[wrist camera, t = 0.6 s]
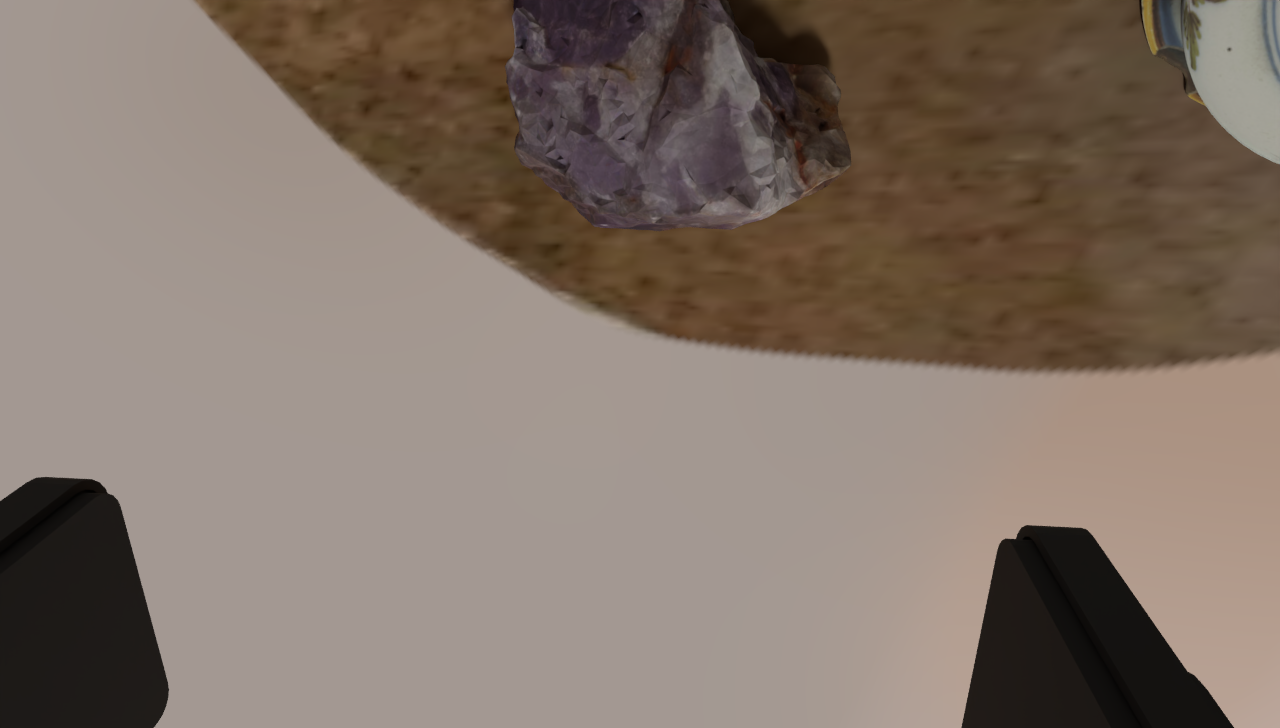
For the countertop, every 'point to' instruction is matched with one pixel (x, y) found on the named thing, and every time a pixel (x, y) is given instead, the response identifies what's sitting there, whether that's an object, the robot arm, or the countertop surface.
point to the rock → (667, 114)
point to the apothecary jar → (1225, 61)
